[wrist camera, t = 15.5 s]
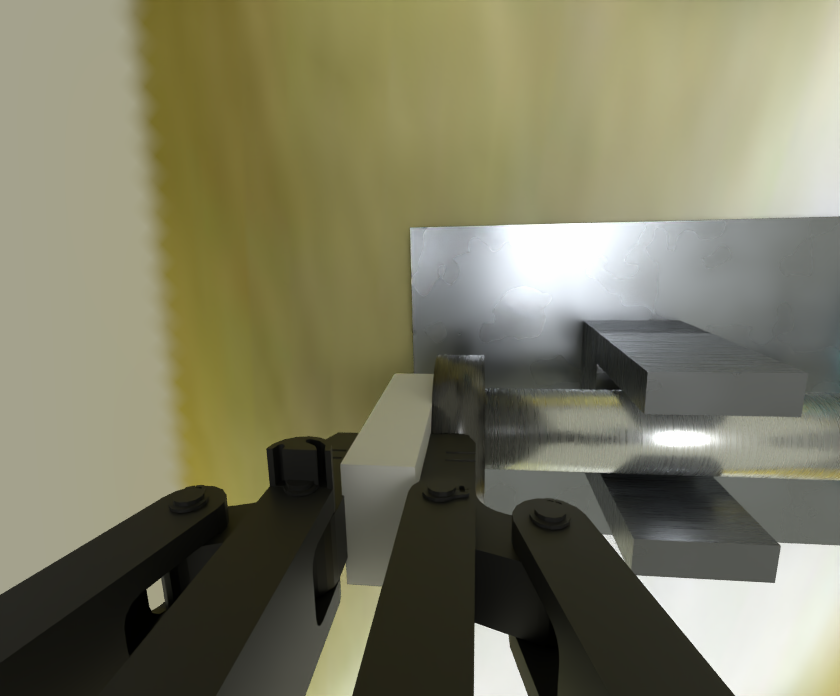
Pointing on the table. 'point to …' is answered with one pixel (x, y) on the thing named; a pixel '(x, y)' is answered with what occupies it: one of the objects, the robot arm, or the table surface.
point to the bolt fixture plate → (651, 362)
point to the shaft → (625, 432)
